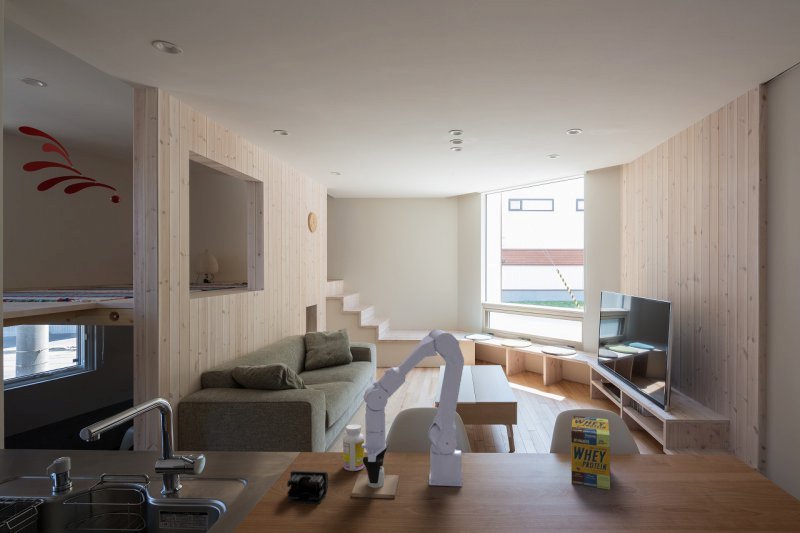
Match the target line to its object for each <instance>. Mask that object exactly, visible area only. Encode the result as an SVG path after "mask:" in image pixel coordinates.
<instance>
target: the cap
mask: <svg viewBox="0 0 800 533" xmlns="http://www.w3.org/2000/svg"><path fill="white" fill-rule="evenodd" d="M384 475H385V468H384V466H381V467H380V472H379V479H378V483H377V484H374V483H370V481H369V477H368V486H370V487H375V488H378V487H381V486H383V485H384Z"/></svg>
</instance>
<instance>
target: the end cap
mask: <svg viewBox="0 0 800 533" xmlns="http://www.w3.org/2000/svg"><path fill="white" fill-rule="evenodd" d="M286 486H287V488H289V489H288V491H287V492H286V494H287V498H288V500H287V501H288V503H289V504H304V503H305V504H311V505H321V503H322V502H323V500H324V498H325V497H326V496H325V495H327V492H328V487H329V474H328V471H320V470H319V471H318V470H317V471H316V470H313V471H312V470H291V471H290V478H289V480H288V481H287V483H286ZM305 504H304V505H305Z"/></svg>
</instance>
